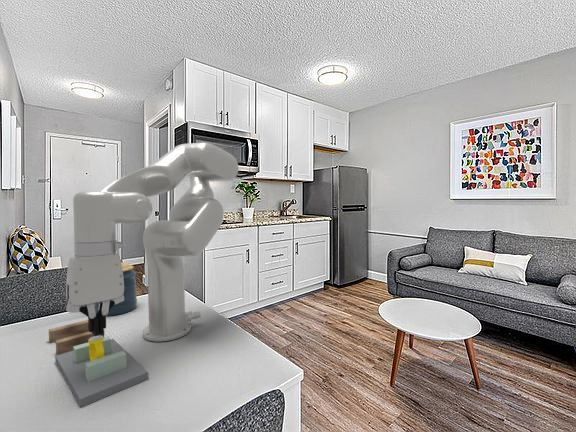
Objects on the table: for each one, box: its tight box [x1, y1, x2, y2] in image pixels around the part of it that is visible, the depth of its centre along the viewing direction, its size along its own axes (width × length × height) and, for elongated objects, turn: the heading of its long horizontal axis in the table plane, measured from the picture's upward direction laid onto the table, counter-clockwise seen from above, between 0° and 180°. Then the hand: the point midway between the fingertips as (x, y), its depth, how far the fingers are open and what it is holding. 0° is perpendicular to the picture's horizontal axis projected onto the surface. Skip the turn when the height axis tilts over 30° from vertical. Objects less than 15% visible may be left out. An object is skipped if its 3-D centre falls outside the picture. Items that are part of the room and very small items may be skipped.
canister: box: [94, 262, 138, 317], centre depth 103 cm, size 13×13×18 cm
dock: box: [54, 336, 149, 408], centre depth 66 cm, size 12×22×4 cm, turn 47°
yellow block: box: [88, 336, 105, 361], centre depth 66 cm, size 6×3×6 cm, turn 47°
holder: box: [48, 319, 105, 356], centre depth 80 cm, size 10×11×3 cm
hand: (97, 333), depth 66 cm, fingers closed
